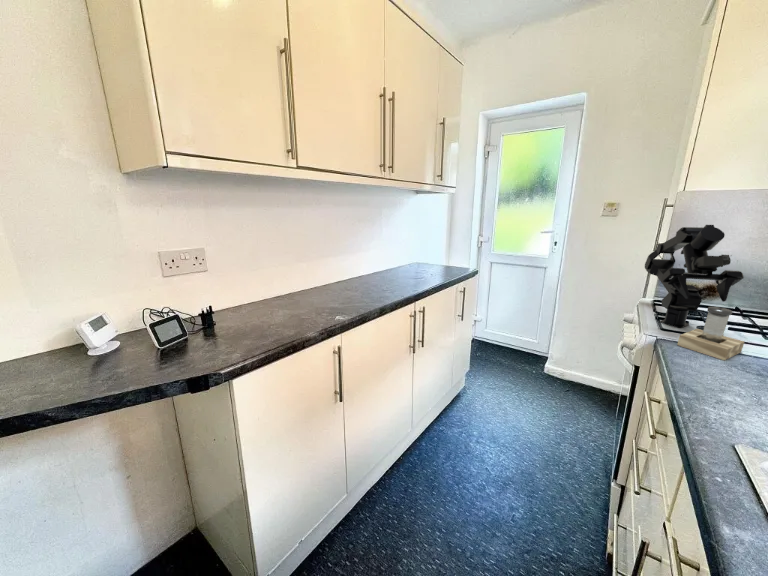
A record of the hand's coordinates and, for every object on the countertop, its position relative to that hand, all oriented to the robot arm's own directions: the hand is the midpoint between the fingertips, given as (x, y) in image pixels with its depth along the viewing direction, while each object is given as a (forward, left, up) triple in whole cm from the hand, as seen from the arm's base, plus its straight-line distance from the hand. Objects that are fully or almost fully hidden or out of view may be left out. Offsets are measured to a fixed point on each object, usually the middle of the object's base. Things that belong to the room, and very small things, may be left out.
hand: (705, 299), depth 100 cm
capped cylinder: (+5, +5, -14) cm, 16 cm away
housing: (+5, +5, -14) cm, 16 cm away
